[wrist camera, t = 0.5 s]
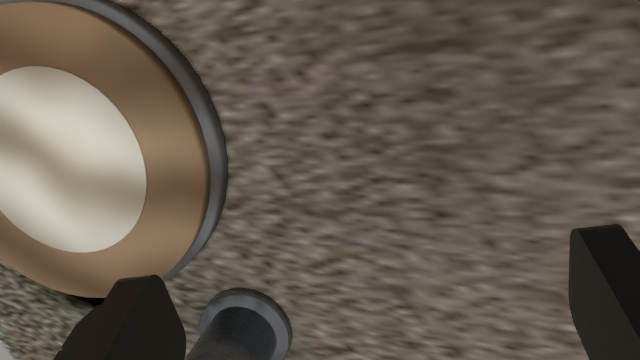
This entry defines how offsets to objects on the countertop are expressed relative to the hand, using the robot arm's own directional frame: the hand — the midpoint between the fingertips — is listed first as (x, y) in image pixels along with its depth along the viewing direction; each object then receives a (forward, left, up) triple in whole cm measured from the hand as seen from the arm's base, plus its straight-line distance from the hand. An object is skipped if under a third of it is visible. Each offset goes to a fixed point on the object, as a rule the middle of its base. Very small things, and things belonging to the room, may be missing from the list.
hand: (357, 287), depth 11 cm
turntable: (+7, -21, -21) cm, 30 cm away
